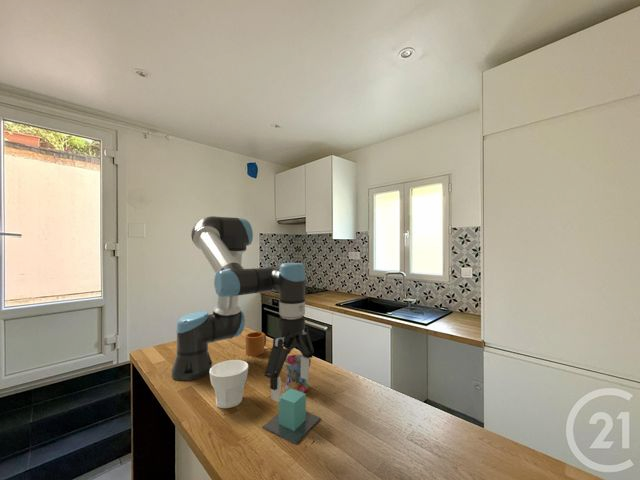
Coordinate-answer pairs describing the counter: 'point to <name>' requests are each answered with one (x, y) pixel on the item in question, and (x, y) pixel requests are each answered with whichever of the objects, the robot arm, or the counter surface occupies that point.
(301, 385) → the mug
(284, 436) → the grey square tile
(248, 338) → the mug
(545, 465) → the counter surface
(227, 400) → the cup
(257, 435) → the counter surface
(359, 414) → the counter surface
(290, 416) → the teal block
